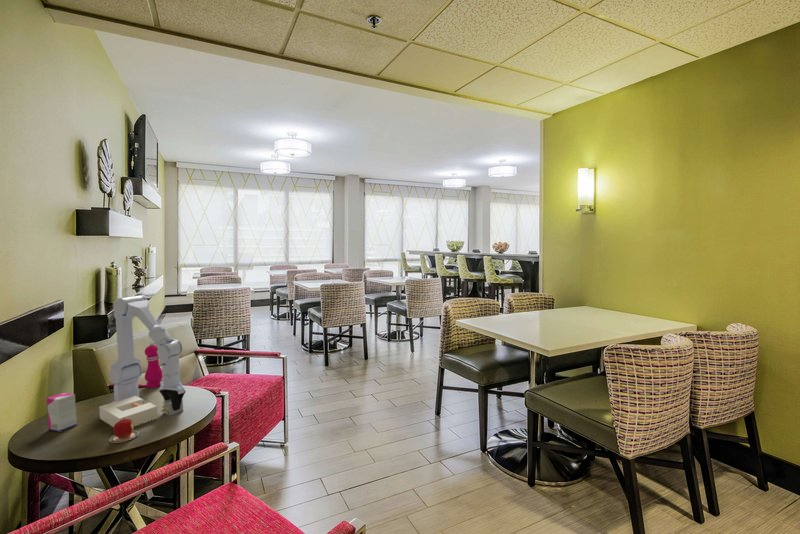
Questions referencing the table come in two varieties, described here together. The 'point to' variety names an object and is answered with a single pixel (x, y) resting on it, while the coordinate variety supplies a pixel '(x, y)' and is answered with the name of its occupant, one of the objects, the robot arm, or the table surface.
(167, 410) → the plug
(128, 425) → the red rounded piece
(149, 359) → the pepper mill
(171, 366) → the robot arm
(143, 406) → the socket housing
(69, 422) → the supplement box
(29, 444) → the table surface
